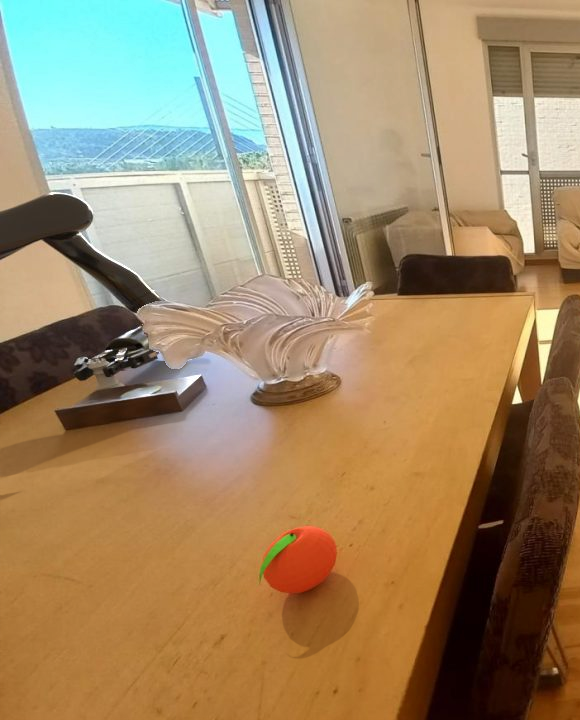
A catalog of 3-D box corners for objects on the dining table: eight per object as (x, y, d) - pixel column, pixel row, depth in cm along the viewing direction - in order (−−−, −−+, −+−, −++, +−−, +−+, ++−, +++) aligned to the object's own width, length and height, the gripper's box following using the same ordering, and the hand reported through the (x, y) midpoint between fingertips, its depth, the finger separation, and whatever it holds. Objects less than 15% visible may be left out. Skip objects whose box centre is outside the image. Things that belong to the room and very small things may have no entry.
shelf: (65, 430, 89) (53, 410, 87) (103, 402, 99) (93, 384, 97) (182, 411, 94) (174, 392, 93) (206, 386, 105) (199, 369, 103)
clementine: (299, 623, 49) (277, 572, 46) (248, 609, 51) (225, 559, 48) (357, 564, 56) (341, 517, 53) (311, 553, 58) (294, 507, 55)
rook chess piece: (94, 398, 101) (75, 364, 98) (118, 389, 105) (102, 356, 102) (109, 400, 100) (91, 365, 97) (133, 390, 104) (117, 357, 101)
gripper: (91, 336, 109) (38, 363, 94) (167, 328, 113) (128, 352, 98) (106, 366, 112) (57, 397, 97) (179, 356, 116) (143, 384, 101)
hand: (93, 374), depth 98 cm, fingers open, 3 cm apart
